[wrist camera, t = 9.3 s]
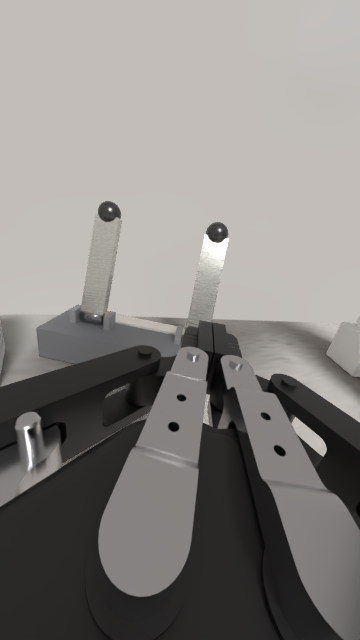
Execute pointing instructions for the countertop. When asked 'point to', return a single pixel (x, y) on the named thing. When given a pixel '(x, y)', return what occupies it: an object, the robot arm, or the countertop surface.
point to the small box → (1, 347)
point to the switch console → (103, 336)
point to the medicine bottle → (347, 348)
